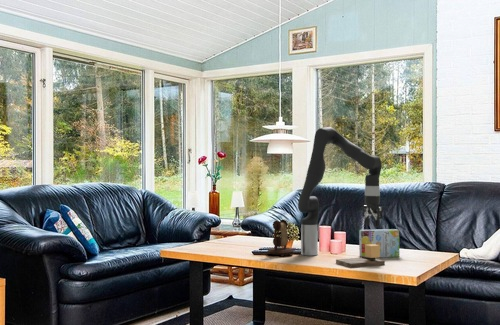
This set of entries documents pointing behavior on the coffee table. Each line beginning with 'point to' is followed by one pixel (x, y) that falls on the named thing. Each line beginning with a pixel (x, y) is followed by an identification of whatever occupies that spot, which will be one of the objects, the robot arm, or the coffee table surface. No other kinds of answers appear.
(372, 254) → the tan wooden block
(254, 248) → the coffee table surface
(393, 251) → the snack box
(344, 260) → the board
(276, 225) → the brown upright piece
